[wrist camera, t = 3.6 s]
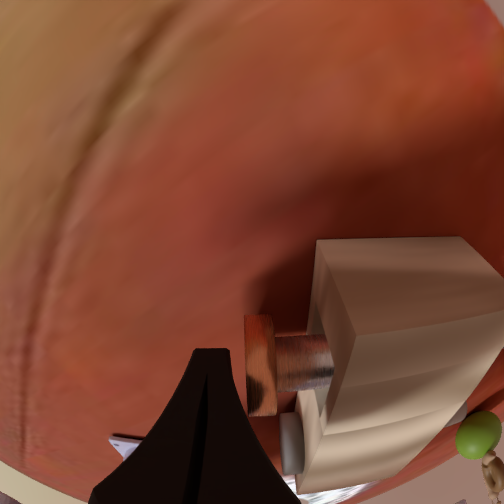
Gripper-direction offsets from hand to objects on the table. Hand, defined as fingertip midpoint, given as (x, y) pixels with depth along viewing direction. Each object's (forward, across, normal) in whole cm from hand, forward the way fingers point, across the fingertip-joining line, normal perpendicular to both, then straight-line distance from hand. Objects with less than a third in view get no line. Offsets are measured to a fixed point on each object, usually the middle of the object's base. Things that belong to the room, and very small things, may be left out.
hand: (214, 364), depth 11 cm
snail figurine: (+3, -24, +18) cm, 31 cm away
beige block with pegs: (+2, -9, +4) cm, 10 cm away
